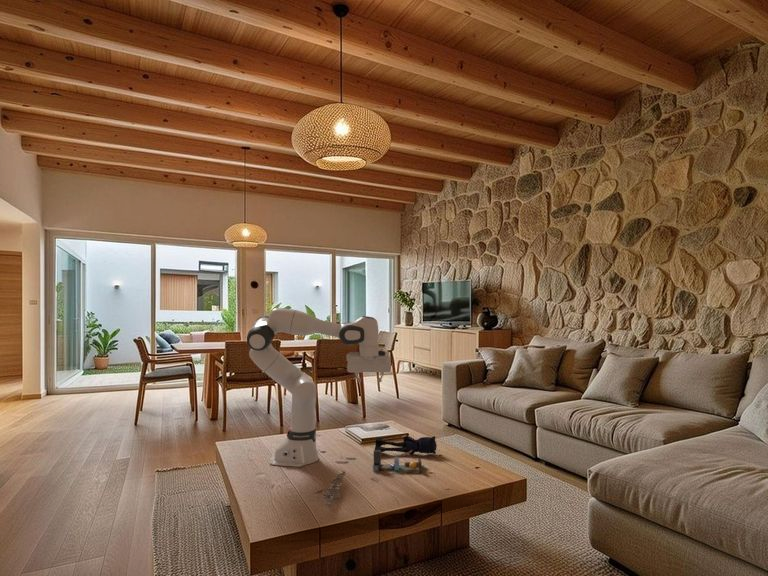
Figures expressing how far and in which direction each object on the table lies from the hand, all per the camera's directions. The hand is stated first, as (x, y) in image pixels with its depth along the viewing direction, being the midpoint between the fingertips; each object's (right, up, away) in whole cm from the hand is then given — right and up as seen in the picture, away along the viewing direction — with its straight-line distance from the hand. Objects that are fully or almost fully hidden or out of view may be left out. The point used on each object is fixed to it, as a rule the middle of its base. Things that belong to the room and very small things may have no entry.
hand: (369, 382), depth 207 cm
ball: (+19, -35, -8) cm, 41 cm away
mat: (+17, -37, -8) cm, 41 cm away
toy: (+17, -37, +10) cm, 42 cm away
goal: (+19, -36, -8) cm, 42 cm away
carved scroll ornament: (-12, -37, -34) cm, 52 cm away
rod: (+7, -37, -8) cm, 38 cm away
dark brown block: (+3, -37, -8) cm, 38 cm away
